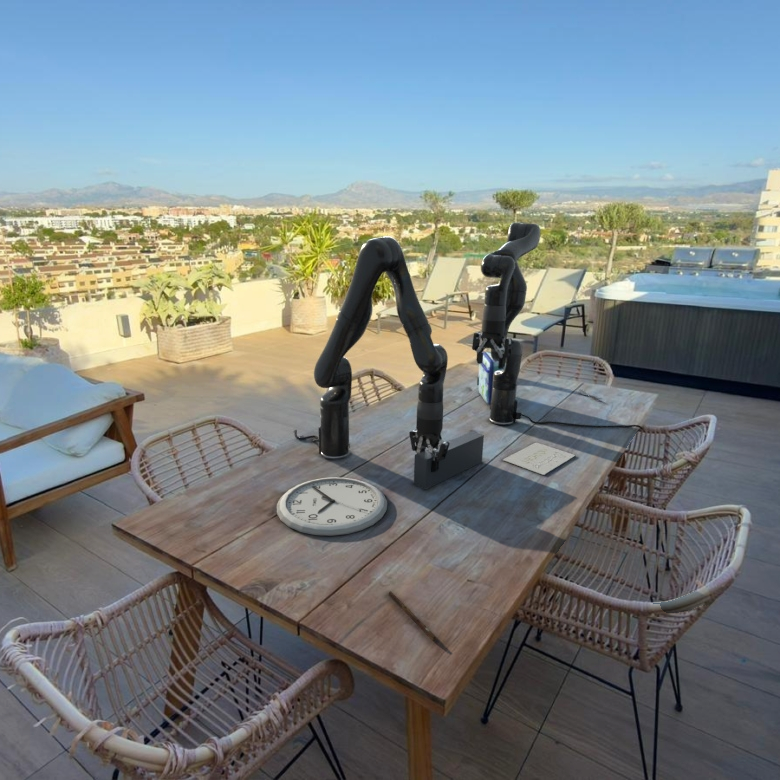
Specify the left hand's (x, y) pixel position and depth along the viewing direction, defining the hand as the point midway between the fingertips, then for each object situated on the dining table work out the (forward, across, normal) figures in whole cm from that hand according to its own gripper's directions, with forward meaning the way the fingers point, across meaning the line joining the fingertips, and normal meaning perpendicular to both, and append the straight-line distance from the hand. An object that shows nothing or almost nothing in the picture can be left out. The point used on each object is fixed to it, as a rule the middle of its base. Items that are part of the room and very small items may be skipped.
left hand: (427, 468), depth 155 cm
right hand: (-24, -6, +37) cm, 44 cm away
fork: (+5, -5, +118) cm, 118 cm away
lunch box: (+5, -34, +81) cm, 88 cm away
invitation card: (+5, +14, +41) cm, 43 cm away
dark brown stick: (+5, +35, -44) cm, 57 cm away
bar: (+5, 0, +10) cm, 12 cm away
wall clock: (+5, -9, -29) cm, 31 cm away
